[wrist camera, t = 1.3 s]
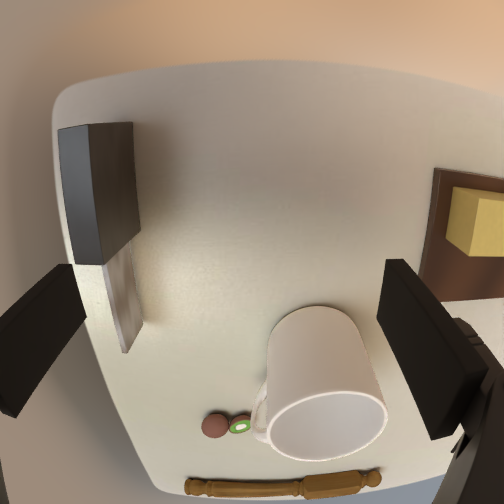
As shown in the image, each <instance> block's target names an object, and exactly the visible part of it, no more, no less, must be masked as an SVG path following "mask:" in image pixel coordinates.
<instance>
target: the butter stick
mask: <svg viewBox="0 0 504 504" xmlns="http://www.w3.org/2000/svg"><path fill="white" fill-rule="evenodd" d="M446 239H447V240H448V241H450V242H451V243H452V244H454V245H455V246H456V247H458V248H459V249H460V250H461V251H463V252H464V253H465V254H466V255H468V256H494V257H504V193H498V192H491V191H484V190H476V189H469V188H461V187H453V192H452V200H451V207H450V214H449V220H448V226H447V232H446Z"/></svg>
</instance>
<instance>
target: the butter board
mask: <svg viewBox="0 0 504 504" xmlns="http://www.w3.org/2000/svg"><path fill="white" fill-rule="evenodd" d="M453 187H461V188H469V189H476V190H484V191H491V192H498V193H504V179H503V178H498V177H492V176H486V175H480V174H474V173H468V172H461V171H454V170H447V169H440V168H435V169H434V179H433V188H432V197H431V205H430V212H429V219H428V226H427V232H426V238H425V244H424V250H423V255H422V260H421V265H420V270H419V275H418V277H419V278H420V279H421V280H422V281H423V283H424V284H425V285H426V286H427V287H428V288H429V290H430V291H431V292H432V293H433V295H434V296H435V297H436V298H437V299H438V301H439V302H448V301H464V300H478V299H491V298H503V297H504V257H494V256H468V255H466V254H465V253H464V252H463V251H461V250H460V249H459V248H458V247H456V246H455V245H454V244H452V243H451V242H450V241H448V240H447V239H446V232H447V226H448V220H449V214H450V207H451V200H452V192H453Z"/></svg>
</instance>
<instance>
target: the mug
mask: <svg viewBox="0 0 504 504" xmlns="http://www.w3.org/2000/svg"><path fill="white" fill-rule="evenodd" d="M266 398H267V415H266V428H265V429H260V428H258V426H257V424H256V421H255V416H256V412H257V410H258V408H259V406H260V404H261V403H262V402H263V401H264V400H265V399H266ZM387 419H388V411H387V407H386V404H385V402H384V399H383V396H382V393H381V390H380V387H379V384H378V382H377V379H376V376H375V373H374V371H373V368H372V365H371V362H370V360H369V357H368V354H367V352H366V349H365V346H364V344H363V341H362V339H361V336H360V334H359V331H358V329H357V327H356V326H355V324H354V323H353V321H352V320H351V319H350V318H349V317H348V316H347V315H346V314H344V313H343V312H341V311H339V310H336V309H333V308H330V307H324V306H312V307H306V308H302V309H299V310H296V311H294V312H292V313H290V314H289V315H287V316H285V317H284V318H283V319H282V320H281V321H280V322H279V323H278V324H277V325H276V326H275V328H274V329H273V331H272V333H271V335H270V338H269V341H268V347H267V379H266V381H265V382H264V383H263V385H262V386H261V388H260V389H259V391H258V393H257V395H256V398H255V401H254V404H253V408H252V413H251V420H250V427H251V431H252V434H253V435H254V437H255V438H256V439H258V440H259V441H261V442H263V443H268V444H270V445H271V446H272V448H273V449H274V450H276V451H277V452H278V453H280V454H282V455H284V456H286V457H289V458H292V459H296V460H302V461H327V460H333V459H337V458H341V457H344V456H347V455H350V454H353V453H355V452H357V451H359V450H361V449H363V448H364V447H366V446H367V445H369V444H370V443H372V442H373V441H374V440H375V439H376V438H377V437H378V436H379V435H380V434H381V432H382V431H383V429H384V428H385V426H386V423H387Z"/></svg>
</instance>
